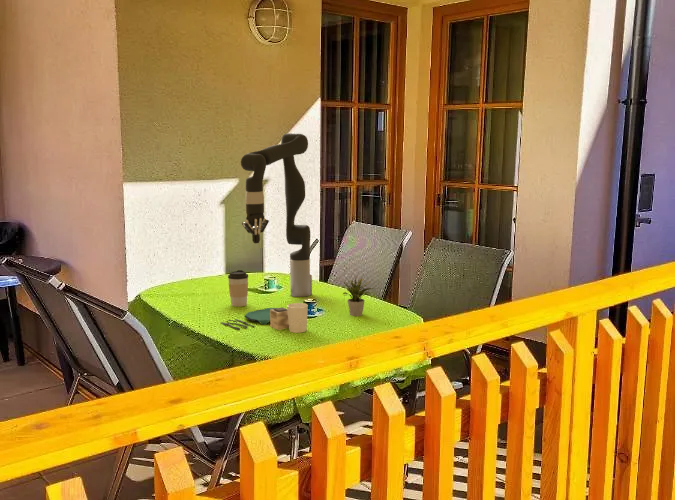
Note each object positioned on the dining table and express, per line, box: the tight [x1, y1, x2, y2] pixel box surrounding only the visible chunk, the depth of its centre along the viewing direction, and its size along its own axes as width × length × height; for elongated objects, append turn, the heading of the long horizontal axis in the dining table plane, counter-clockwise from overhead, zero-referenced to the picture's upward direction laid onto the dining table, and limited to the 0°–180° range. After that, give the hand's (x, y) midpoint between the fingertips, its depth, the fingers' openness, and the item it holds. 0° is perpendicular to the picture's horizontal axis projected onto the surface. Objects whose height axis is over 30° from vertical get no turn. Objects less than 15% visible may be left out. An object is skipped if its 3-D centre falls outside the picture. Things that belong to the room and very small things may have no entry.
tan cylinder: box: [286, 302, 309, 334], centre depth 269 cm, size 8×8×10 cm
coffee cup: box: [227, 269, 249, 307], centre depth 310 cm, size 9×9×15 cm
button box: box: [269, 309, 289, 331], centre depth 274 cm, size 6×6×7 cm
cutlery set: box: [220, 307, 276, 331], centre depth 286 cm, size 20×30×2 cm, turn 128°
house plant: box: [341, 277, 374, 317], centre depth 291 cm, size 14×14×16 cm
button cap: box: [274, 306, 287, 312], centre depth 274 cm, size 4×4×2 cm
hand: (256, 242), depth 295 cm, fingers closed
